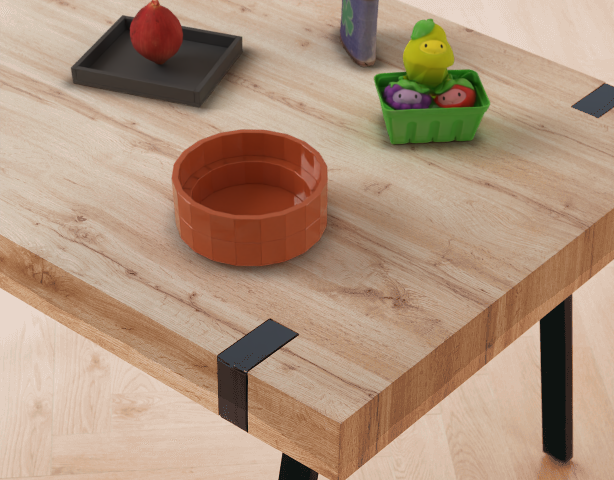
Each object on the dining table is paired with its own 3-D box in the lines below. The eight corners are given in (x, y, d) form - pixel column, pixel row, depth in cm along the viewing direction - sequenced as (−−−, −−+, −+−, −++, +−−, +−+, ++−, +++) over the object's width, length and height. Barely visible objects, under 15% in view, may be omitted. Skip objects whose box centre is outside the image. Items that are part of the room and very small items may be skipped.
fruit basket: (381, 152, 113) (387, 56, 105) (368, 107, 119) (373, 13, 112) (486, 147, 115) (499, 52, 107) (468, 103, 121) (480, 11, 114)
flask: (378, 66, 126) (383, -20, 119) (354, 69, 126) (357, -18, 118) (357, 29, 133) (360, -55, 126) (334, 31, 132) (336, -53, 125)
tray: (72, 83, 120) (70, 67, 119) (124, 29, 130) (122, 14, 128) (200, 108, 118) (199, 92, 116) (242, 51, 127) (242, 36, 126)
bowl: (152, 252, 99) (146, 200, 95) (210, 168, 109) (207, 118, 105) (299, 285, 97) (299, 232, 93) (344, 195, 107) (346, 145, 103)
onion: (126, 72, 121) (118, 7, 116) (143, 48, 126) (136, -16, 120) (176, 79, 121) (170, 13, 116) (191, 54, 125) (186, -10, 120)
